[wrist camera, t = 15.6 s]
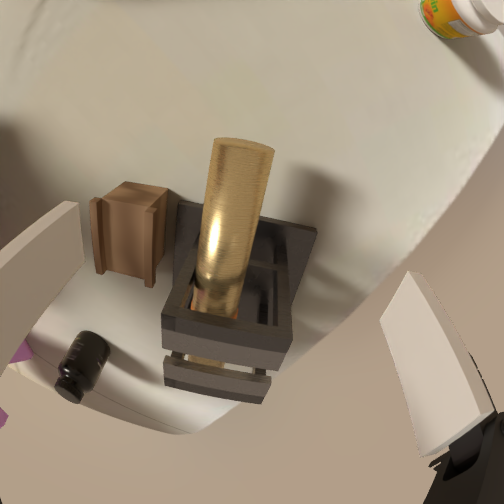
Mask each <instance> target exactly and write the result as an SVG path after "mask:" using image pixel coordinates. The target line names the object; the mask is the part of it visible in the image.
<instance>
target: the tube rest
mask: <svg viewBox="0 0 504 504" xmlns="http://www.w3.org/2000/svg"><path fill="white" fill-rule="evenodd" d="M167 197H168V188H162V187H157V186H151V185H144V184H138V183H132V182H124V183H122V184H121V185H119V186H118V187H117V188H115V189H114V190H112V191H111V192H110V193H108V194H107V195H105V196H104V197H103V198H96V197H95V198H93V199H92V200H90V201H89V206H90V222H91V234H92V244H93V253H94V261H95V268H96V273H97V274H101V275H103V274H104V273H105V271H106V270H110V271H114V272H118V273H121V274H125V275H129V276H133V277H137V278H141V279H145V287H149V288H153V286H154V284H155V282H156V267H157V265H158V264H159V262H160V260H161V259H162V257H163V255H164V243H165V225H166V210H167Z"/></svg>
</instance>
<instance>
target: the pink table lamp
mask: <svg viewBox="0 0 504 504" xmlns="http://www.w3.org/2000/svg"><path fill="white" fill-rule="evenodd" d="M33 355H34V354H33V352H32V350H31V348H30V346H29V345H28V343H27V341H26V339H24V341H23V342H22V343H21V345H20V346H19V348H18V349H17V351H16V353H15V354H14V356H13V357H12V359H11V360H10V362H9V364H10V363H15V362H20V361H25V360H29V359H31V358H32V357H33ZM7 418H8V415H7V414H6V413H5V412H4V411H3V410H2V409H1V408H0V428H1V427H2V426H4V424H5V422H6V420H7Z"/></svg>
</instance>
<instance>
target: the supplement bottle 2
mask: <svg viewBox="0 0 504 504" xmlns="http://www.w3.org/2000/svg"><path fill="white" fill-rule="evenodd" d="M419 12H420V15H421V18H422V20H423V21H424V23H425V24H426V26H427V27H428V28H429V29H430V30H431V31H432V32H433V33H435V34H436V35H438V36H440V37H442V38H445V39H457V38H462V37H469V36H475V35H484V34H490V33H493V32H495V30H496V29H497V27H498V25H504V0H420V2H419Z"/></svg>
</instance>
